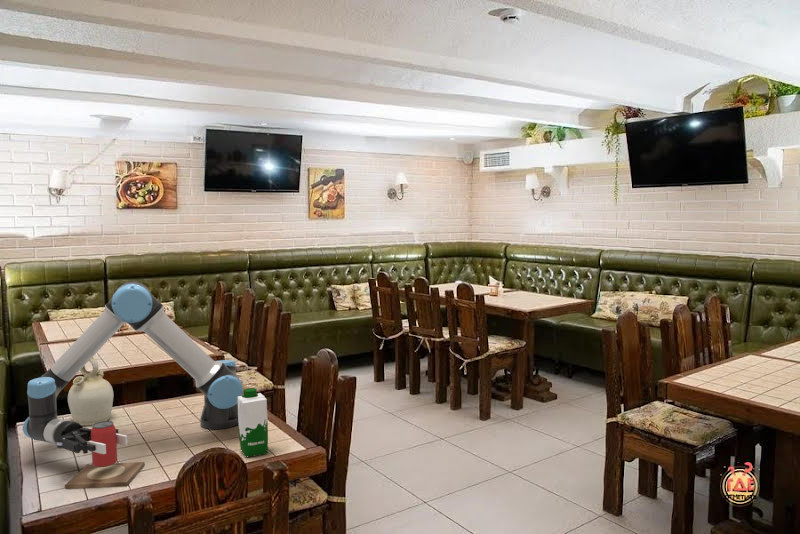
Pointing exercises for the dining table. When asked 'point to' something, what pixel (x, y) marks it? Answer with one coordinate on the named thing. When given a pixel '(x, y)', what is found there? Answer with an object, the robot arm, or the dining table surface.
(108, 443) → the beer can
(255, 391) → the milk carton
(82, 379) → the jug
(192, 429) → the dining table surface
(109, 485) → the serving board
